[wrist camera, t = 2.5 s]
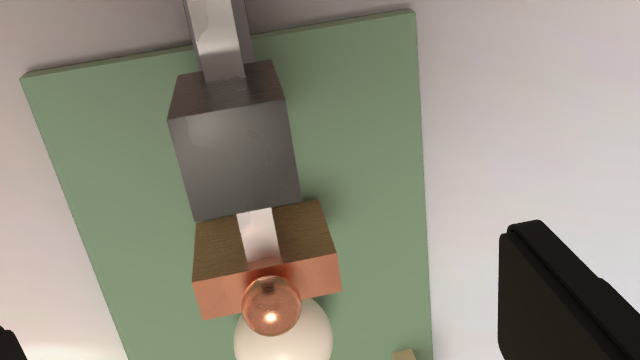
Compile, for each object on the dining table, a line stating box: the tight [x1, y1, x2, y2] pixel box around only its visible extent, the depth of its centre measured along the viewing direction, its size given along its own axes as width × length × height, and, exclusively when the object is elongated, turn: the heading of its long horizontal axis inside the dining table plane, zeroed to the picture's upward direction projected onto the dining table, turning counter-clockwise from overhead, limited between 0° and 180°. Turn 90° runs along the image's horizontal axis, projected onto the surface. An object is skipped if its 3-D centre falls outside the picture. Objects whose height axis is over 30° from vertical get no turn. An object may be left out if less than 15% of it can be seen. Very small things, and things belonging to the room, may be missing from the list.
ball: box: [234, 298, 333, 360], centre depth 28 cm, size 5×5×5 cm
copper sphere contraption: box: [167, 0, 342, 337], centre depth 21 cm, size 14×6×8 cm, turn 8°
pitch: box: [19, 0, 433, 360], centre depth 27 cm, size 32×17×7 cm, turn 7°
